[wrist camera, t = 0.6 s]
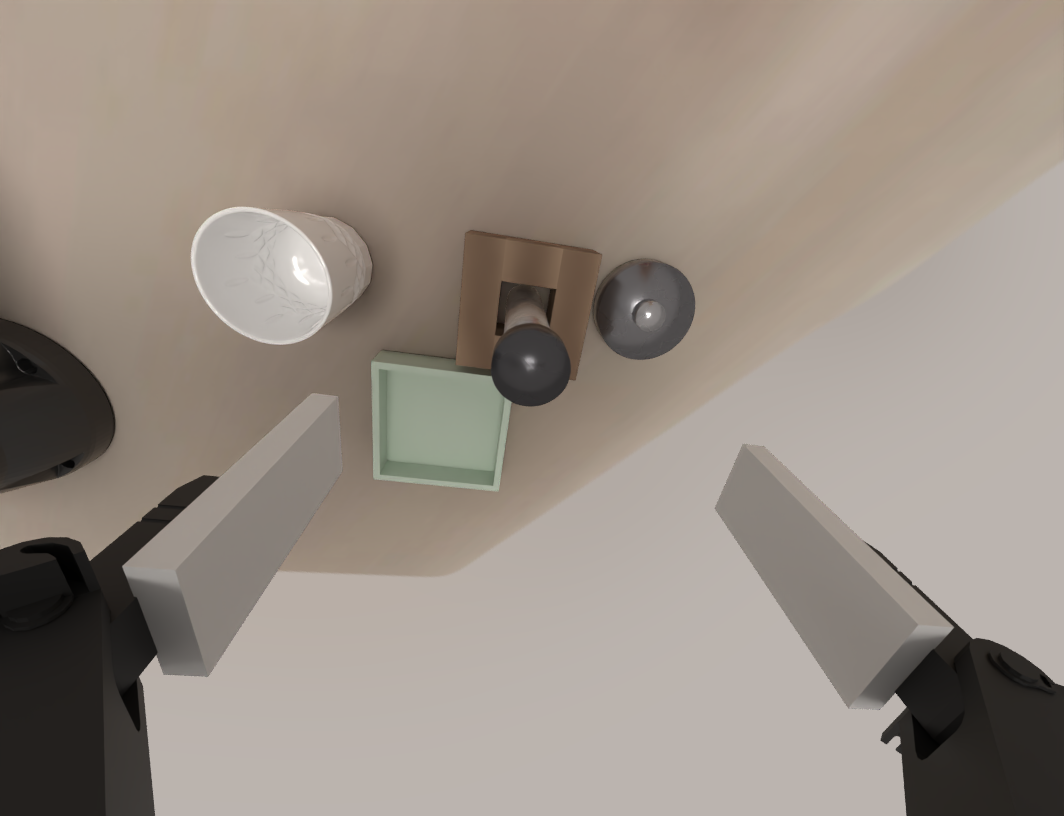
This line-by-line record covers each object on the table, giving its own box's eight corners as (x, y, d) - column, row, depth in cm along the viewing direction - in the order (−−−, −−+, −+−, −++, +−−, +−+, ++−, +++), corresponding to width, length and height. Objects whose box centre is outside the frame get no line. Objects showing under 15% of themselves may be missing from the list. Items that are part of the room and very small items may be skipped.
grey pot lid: (584, 344, 37) (591, 357, 34) (604, 251, 34) (614, 256, 30) (668, 356, 38) (683, 370, 35) (696, 266, 34) (715, 272, 31)
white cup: (373, 321, 35) (325, 359, 26) (277, 294, 34) (193, 324, 25) (387, 226, 32) (338, 233, 23) (281, 192, 31) (186, 186, 22)
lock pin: (498, 321, 36) (486, 401, 21) (503, 274, 34) (495, 325, 19) (542, 327, 36) (563, 410, 21) (550, 281, 35) (578, 337, 20)
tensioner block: (461, 349, 37) (455, 364, 33) (470, 230, 33) (465, 232, 29) (569, 363, 38) (575, 380, 34) (592, 249, 34) (602, 254, 30)
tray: (382, 461, 42) (373, 479, 39) (381, 349, 37) (371, 361, 34) (499, 473, 43) (498, 491, 40) (514, 367, 38) (514, 379, 35)
